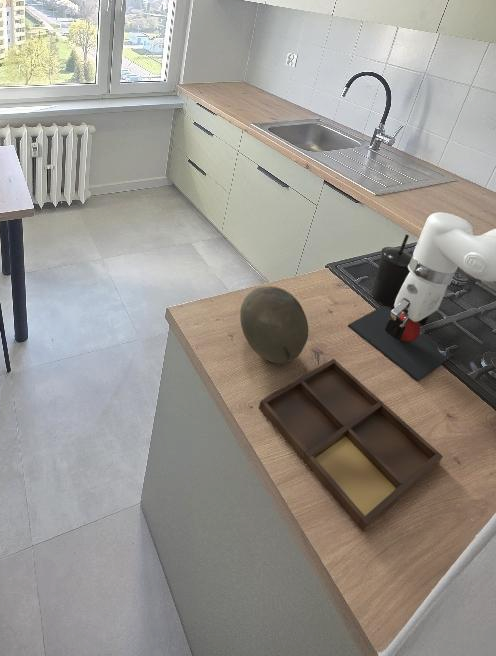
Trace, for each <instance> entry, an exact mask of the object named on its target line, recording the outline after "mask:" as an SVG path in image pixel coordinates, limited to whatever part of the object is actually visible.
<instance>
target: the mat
mask: <svg viewBox="0 0 496 656" xmlns="http://www.w3.org/2000/svg"><path fill="white" fill-rule="evenodd" d="M391 311H392V310H391V309H390V308H388V307H387V306H385V305H381V307H379V308H377V309H375V310H372V311H371V312H369V313H367V314H365V315H363V316H361V317H360V318H358V319H355V321H352V322H350V323H349V324H348V325H347V327H348V328H350V329H351V330H352V331H353V332H355V333H356V334H358V336H360V338H362V339H364V340H365V341H366V342H367V343H369V344H370V345H371V346H372V347H374V349H376V350H377V351H379V352H380V353H381V354H382V355H383V356H385V358H388V360H390V361H391V362H393V364H395V365H396V366H398V368H400V369H401V370H402V371H404V372H405V373H406V374H407V375H409V377H411V378H412V379H414V380H415V381H417V382H420V381H421V380H422V379H424V378H425V377H426V376H427V375H429V374H430V373H432V372H433V371H435V370H436V369H438V368H440V367H441V366H442V365H444V364H445V363H446V362H447V361H449V360H450V359H452V358H453V357H454V353H452V352H450V351H449V350H448V351H447V352H446V356H442V355H441V354H440V353H439V351H438V348H439V349H440V350H441V351H446V350H447V348H445V347H443V346H442V345H441V344H439V343H438V342H437V341H435V340H433V338H431V337H429V336H428V335H426V334H425V333H424V334H420V335H419V336H418V338H417V339H416V340H414V341H409V342H408V341H400V340H399V341H398V340H396V339H395V338H394V337H392V336H391V335H390V334H388V333H387V332H386V331H385V328H386V326H387V323H388V321H389V317H390V314H391ZM437 347H438V348H437ZM447 357H448V358H447ZM449 358H450V359H449ZM447 359H448V360H447ZM445 361H446V362H445Z"/></svg>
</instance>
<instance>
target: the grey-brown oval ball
mask: <svg viewBox="0 0 496 656" xmlns="http://www.w3.org/2000/svg"><path fill="white" fill-rule="evenodd" d="M239 311H240V312H239V314H240V315H239V316H240V327H241V330H242V333H243V335H244V337H245V339H246V341H247V343H248V344H249V346H250V347H251V349H253V351H254V352H255V353H256V354H258V356H260V357H262V358H263V359H264V360H266V361H268V362H271V363H274V364H287V363H290V362H292V361H294V360H295V359H297V358H298V357H299V356H300V354H301V353H302V351H304V348H305V346H306V345H307V342H308V339H309V323H308V319H307V316H306V313H305V311H304V309H303V307H302V305H301V303H300V302H299V300H297V298H296V297H294V295H292V294H291V292H290V291H287V290H286V289H284V288H281V287H278V286H273V285H272V286H271V285H269V286H260V287H256V288H254V289H252V290H251V291H249V293H248V294H247V295H245V297H244V299H243V301H242V304H241V306H240V310H239Z"/></svg>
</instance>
